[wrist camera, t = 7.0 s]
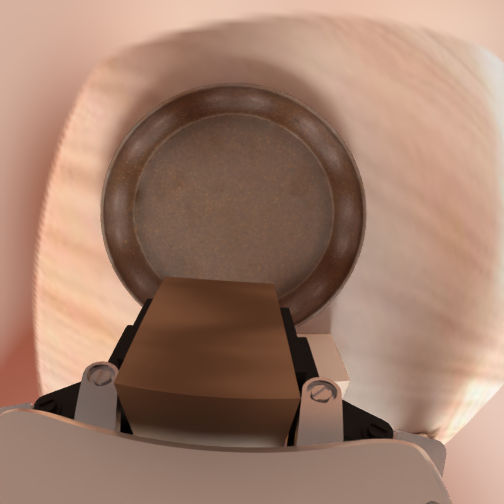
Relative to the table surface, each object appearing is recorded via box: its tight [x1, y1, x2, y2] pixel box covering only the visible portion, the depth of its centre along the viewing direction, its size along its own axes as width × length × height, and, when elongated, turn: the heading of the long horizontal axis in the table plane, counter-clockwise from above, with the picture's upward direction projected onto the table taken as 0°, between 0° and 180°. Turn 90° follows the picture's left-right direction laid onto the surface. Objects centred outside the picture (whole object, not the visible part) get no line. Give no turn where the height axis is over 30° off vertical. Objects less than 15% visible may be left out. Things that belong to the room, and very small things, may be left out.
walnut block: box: [114, 276, 301, 447], centre depth 9 cm, size 4×4×6 cm
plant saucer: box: [101, 83, 366, 328], centre depth 18 cm, size 18×18×3 cm
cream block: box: [297, 334, 350, 398], centre depth 21 cm, size 4×4×6 cm
